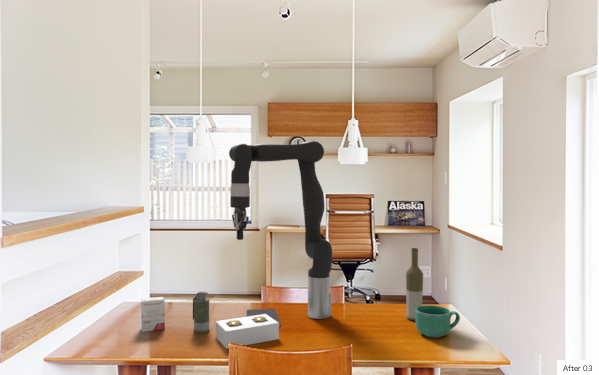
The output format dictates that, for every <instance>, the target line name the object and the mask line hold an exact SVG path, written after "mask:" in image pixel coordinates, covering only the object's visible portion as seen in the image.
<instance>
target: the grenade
mask: <svg viewBox="0 0 599 375" xmlns="http://www.w3.org/2000/svg"><path fill="white" fill-rule="evenodd" d="M208 295H209V293H208V292H206V291H198V292H197V293H196V295H195V296H194V297H193V298H192V320H193V333H194V334H197V335H203V334H207V333H210V298H209V297H207V296H208Z"/></svg>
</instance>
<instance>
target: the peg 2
mask: <svg viewBox="0 0 599 375" xmlns="http://www.w3.org/2000/svg"><path fill="white" fill-rule="evenodd" d="M254 321H255V323H259V322H265V321H266V318H265V317H255V318H254Z"/></svg>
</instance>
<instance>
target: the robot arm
mask: <svg viewBox="0 0 599 375" xmlns="http://www.w3.org/2000/svg"><path fill="white" fill-rule="evenodd" d="M324 154H325V148H324V146H323V145H322V144H321V143H320V142H319V141H315V140H309V141H303V142H301V143H295V144H293V143H291V144H284V143H283V144H282V143H281V144H280V143H277V144H275V143H259V144H252V145H251V144H247V143H237V144H234V145H233V146H232V147H231V148H230V149H229V152H228V156H229V158H230V159H231V161H233V162H234V166H233V169H232V170H231V174H230V175H231V178H230V192H229V194H230V197H229V198H230V202H229V204H230V208H233V209H234V211H233V214H232V215H231V218H232V224H233V227H234V229H235V231H236V240H238V241H242V240H244V231H245V229H246V228H247V225H248V223H249V216H247V210H246V208H250V205H251V197H250V196H251V188H250V170H251V167H252V162H262V163H263V162H264V163H265V162H280V161H291V160H296V161H297V164H298V169H299V173H300V174H299V175H300V186H301V196H302V206H303V216H304V220H303V221H304V228H305V229H304V231H305V233H304V234H305V235H304V239H305V240H304V247H305V249H304V250H305V253H306V255H307V257H309V259H311V260H312V267H311V268H309V269H308V270H307V271H308V272H307V274H308V275H307V316H308V317H309V318H311V319H316V320H323V319H327V318H329V317H331V316H332V294H331V293H330V274H331V270H332V265H333V264H332V261H333V247H332V245H331V243H330V242H329V241H328V240H326V239H323V238H322V233H321V223H322V220H323V215H324V213H325V196H324V191H323V188H322V186H321V183H320V181H319V180H318V179H319V178H318V177H317V174H316V173H317V172H316V164H315V163H317V162H319V161H321V160H322V158H324Z"/></svg>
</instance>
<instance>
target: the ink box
mask: <svg viewBox="0 0 599 375" xmlns="http://www.w3.org/2000/svg"><path fill="white" fill-rule="evenodd" d="M140 300H141V301H140V304H141V305H140V311H141V312H140V314H141V316H140V318H141V319H140V320H141V322H140V323H141V333H145V332H153V331H161V330H165V329H166V322H165V320H166V316H165V314H166V313H165V312H166V311H165V310H166V309H165V308H166V306H165V305H166V304H165V297H164V296H159V297H158V296H157V297H145V298H141V299H140Z"/></svg>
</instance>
